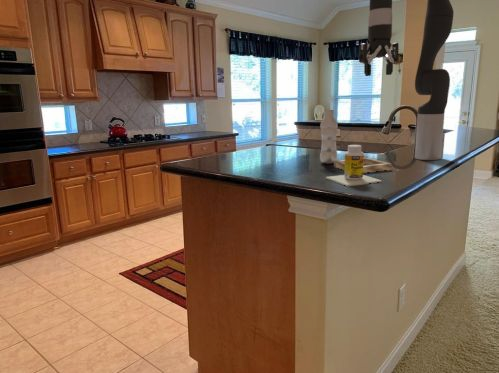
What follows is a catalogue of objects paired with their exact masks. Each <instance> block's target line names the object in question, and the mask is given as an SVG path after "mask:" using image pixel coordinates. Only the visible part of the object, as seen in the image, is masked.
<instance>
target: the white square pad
mask: <svg viewBox="0 0 499 373" xmlns="http://www.w3.org/2000/svg"><path fill="white" fill-rule="evenodd" d="M325 179H326V180H329V181H332V182H334V183H336V184H339V185H342V186H344V185H345V186H344V187H353V186H362V185H370V184H369V183H371V184H376V183H377V182H379V183H382V182H383V181H382V180H381V179H378V178H375V177H371V176H368V175H365V174H363V178H362V179H360V180H348V179H346V178H345V177H344V174H340V175H332V176H326V177H325Z"/></svg>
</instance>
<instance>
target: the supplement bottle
mask: <svg viewBox="0 0 499 373" xmlns="http://www.w3.org/2000/svg"><path fill="white" fill-rule="evenodd" d="M364 156H365V153H364V151H362V145H360V144H350V145H349V144H348V145H347V151H345V153H344V160H345V170H343V172H344V174H343V175H344V177H345V178H346V179H348V180H360V179H362V178H363V175H364V173H363V166H364V165H363V162H364V158H365V157H364Z"/></svg>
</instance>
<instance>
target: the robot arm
mask: <svg viewBox="0 0 499 373" xmlns="http://www.w3.org/2000/svg"><path fill="white" fill-rule="evenodd" d="M426 4H427V5H426V12H425V18H424V24H423V27H424V28H423V35H422V42H421V44H422V45H421V50H420V56H419V60H418V65H417V69H416V75H415V79H414V90H415V92H416V93H417V95H419V96H430V98H429V100H428V101H426V103H424V104H421V105H419V106H418V109H417V119H416V120H417V121H416V134H415V135H416V136H415V150H414V151H415V152H414V159H416V160H421V161H422V160H423V161H438V160H441V159H444V147H445V137H446V136H445V135H446V134H445V133H444V124H445V111H446V108H447V106H448V105H447V104H448V98H449V93H450V92H449V91H450V85H451V83H450V82H451V78H450V74H449V71H448V70H446V69H445V68H437V69H436V68H435V69H434V64H435V60H436V58H437V56H438V53H439V52H440V51H441V49H442V47H443V46H444V44H445V43H446V42H447V40H448V39H449V37H450V35H451V32H452V29H453V21H454V8H453V6H452V3H451V1H450V0H427V3H426ZM367 22H368V23H367V24H368V26H367V27H368V28H367V40H368V43H366V42H365V43H364V42H363V43H361V44H359V57H358V63H361V64H363V66H364V67H363V68H364V70H363V71H364V72H363V73H364V75H365V77H370V76H371V75H372V62H373V60H375V58H377V57H378V58H383V59H384V61H385V62H386V65H385V75H386V76H391V75H392V74H393V71H394V63H396V62H399V54H400V53H399V52H400V51H399V43H398V42H394V43H392V42H391V39H392V36H393V0H369V13H368V21H367Z"/></svg>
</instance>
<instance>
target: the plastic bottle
mask: <svg viewBox="0 0 499 373" xmlns="http://www.w3.org/2000/svg"><path fill="white" fill-rule="evenodd" d="M323 116H324V117H323V119H322V120H321V122H320V124H319V125H320V126H319V127H320V135H321V148H320V149H321V150H320V154H319V160H320V162H321V163H323V164H327V165H331V164H334V161H338V152H337V133H338V127H339V126H338V124H339V123H338V122H337V119H336V117H335V109H325V110H323Z"/></svg>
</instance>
